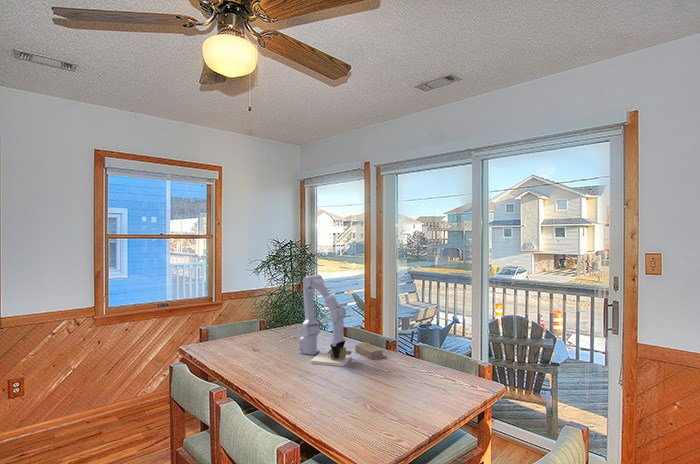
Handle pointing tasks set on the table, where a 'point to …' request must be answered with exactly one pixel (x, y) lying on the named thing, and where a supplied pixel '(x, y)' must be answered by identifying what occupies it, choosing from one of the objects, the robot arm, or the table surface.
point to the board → (329, 360)
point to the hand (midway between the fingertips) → (338, 356)
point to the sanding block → (341, 354)
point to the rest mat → (346, 352)
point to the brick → (368, 351)
